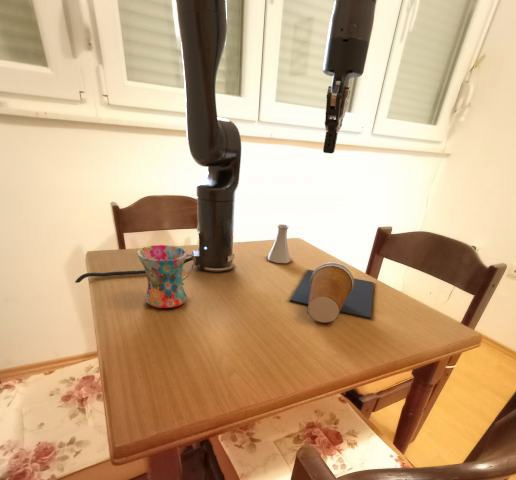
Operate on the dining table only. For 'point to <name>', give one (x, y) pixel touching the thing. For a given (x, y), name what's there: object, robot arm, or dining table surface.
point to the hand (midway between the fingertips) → (328, 152)
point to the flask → (280, 247)
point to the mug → (164, 274)
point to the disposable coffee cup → (329, 291)
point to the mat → (354, 303)
